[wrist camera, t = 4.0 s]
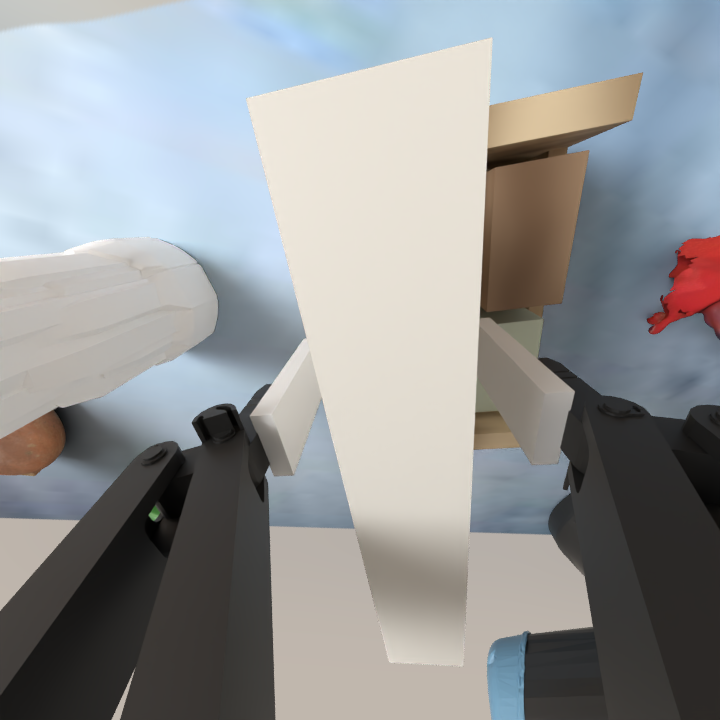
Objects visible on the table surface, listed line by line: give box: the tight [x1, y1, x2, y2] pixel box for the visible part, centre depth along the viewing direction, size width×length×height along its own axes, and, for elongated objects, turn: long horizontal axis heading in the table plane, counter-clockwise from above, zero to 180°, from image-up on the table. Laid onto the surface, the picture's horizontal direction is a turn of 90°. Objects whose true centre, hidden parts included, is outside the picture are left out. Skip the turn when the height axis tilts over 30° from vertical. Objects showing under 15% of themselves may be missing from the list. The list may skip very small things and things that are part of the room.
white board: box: [246, 38, 492, 666], centre depth 15 cm, size 2×15×20 cm, turn 8°
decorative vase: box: [0, 237, 218, 439], centre depth 16 cm, size 11×11×25 cm
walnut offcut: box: [480, 150, 589, 312], centre depth 17 cm, size 4×7×8 cm, turn 9°
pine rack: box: [473, 73, 643, 450], centre depth 20 cm, size 14×20×10 cm
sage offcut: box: [475, 307, 544, 412], centre depth 22 cm, size 4×7×6 cm, turn 9°
